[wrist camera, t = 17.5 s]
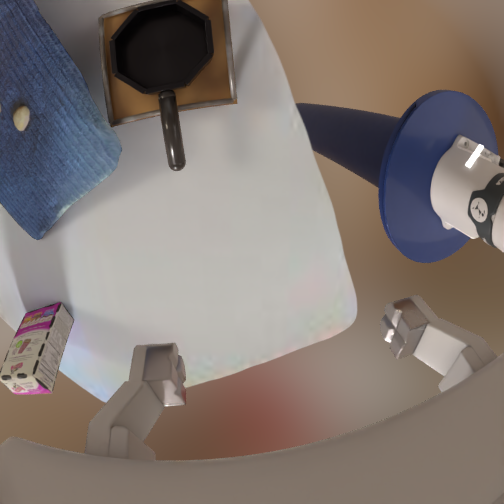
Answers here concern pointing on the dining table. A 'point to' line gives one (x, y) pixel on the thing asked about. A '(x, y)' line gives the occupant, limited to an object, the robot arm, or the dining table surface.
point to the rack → (192, 97)
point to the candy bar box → (37, 351)
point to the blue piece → (46, 123)
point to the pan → (163, 60)
